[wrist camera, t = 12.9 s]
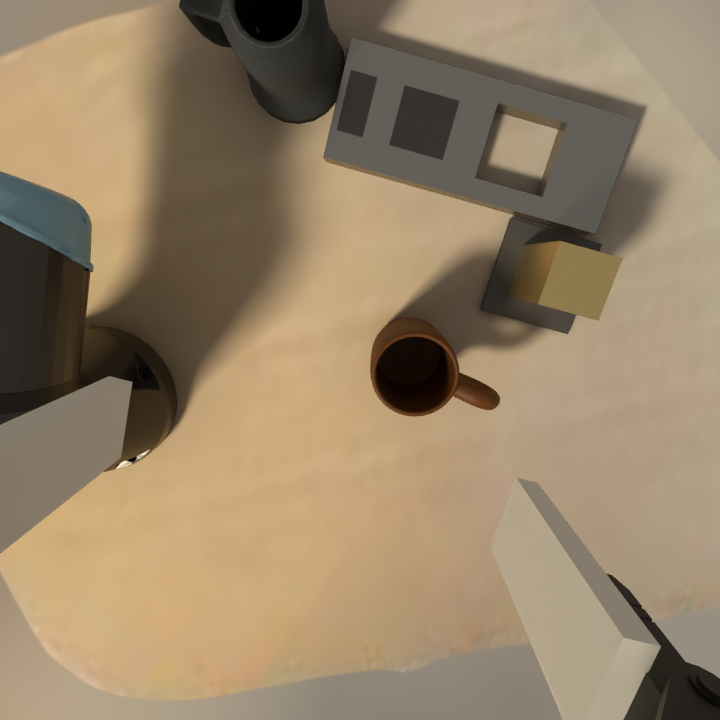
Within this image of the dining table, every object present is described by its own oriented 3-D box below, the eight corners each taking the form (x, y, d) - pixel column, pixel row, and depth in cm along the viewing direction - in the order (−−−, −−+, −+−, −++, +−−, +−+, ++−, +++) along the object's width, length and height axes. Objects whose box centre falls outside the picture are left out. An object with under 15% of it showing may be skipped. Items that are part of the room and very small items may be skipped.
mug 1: (358, 31, 41) (351, -53, 30) (330, 136, 43) (314, 93, 32) (229, -10, 41) (175, -111, 30) (207, 97, 43) (148, 41, 32)
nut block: (506, 295, 45) (538, 303, 36) (523, 245, 44) (560, 241, 35) (554, 308, 45) (598, 320, 36) (573, 258, 44) (622, 258, 35)
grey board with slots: (325, 161, 43) (323, 156, 41) (352, 47, 41) (351, 36, 39) (585, 235, 44) (595, 233, 42) (626, 126, 42) (638, 119, 40)
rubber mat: (480, 309, 46) (481, 309, 45) (509, 219, 44) (511, 218, 43) (565, 333, 46) (567, 334, 45) (599, 244, 44) (601, 244, 43)
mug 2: (496, 348, 47) (525, 369, 37) (465, 413, 48) (486, 449, 39) (387, 305, 46) (390, 316, 37) (360, 372, 48) (356, 399, 38)
